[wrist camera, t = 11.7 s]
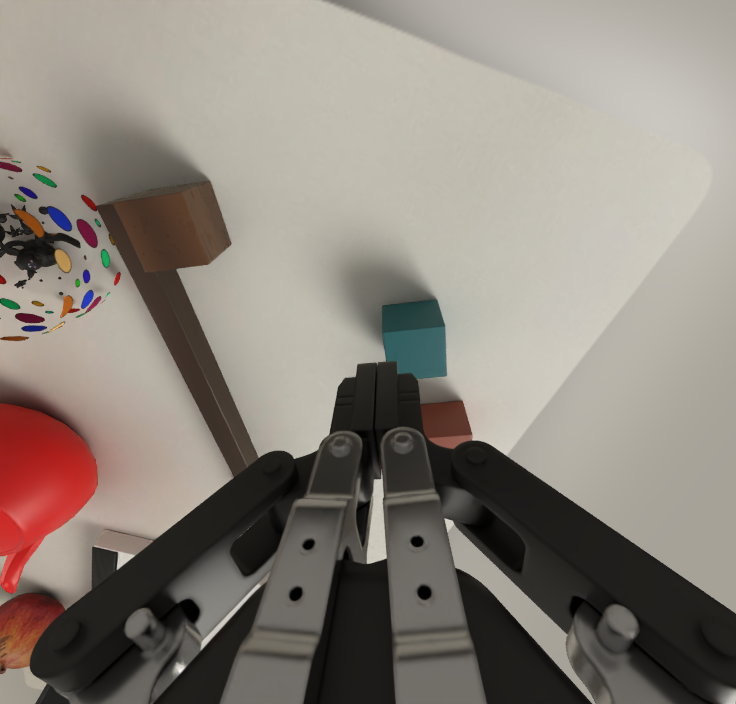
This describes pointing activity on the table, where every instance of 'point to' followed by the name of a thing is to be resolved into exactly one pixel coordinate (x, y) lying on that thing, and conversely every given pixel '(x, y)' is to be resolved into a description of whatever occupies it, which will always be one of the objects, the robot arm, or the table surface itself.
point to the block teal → (415, 338)
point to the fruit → (24, 627)
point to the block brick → (446, 423)
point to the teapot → (38, 483)
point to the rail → (186, 347)
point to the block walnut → (174, 226)
